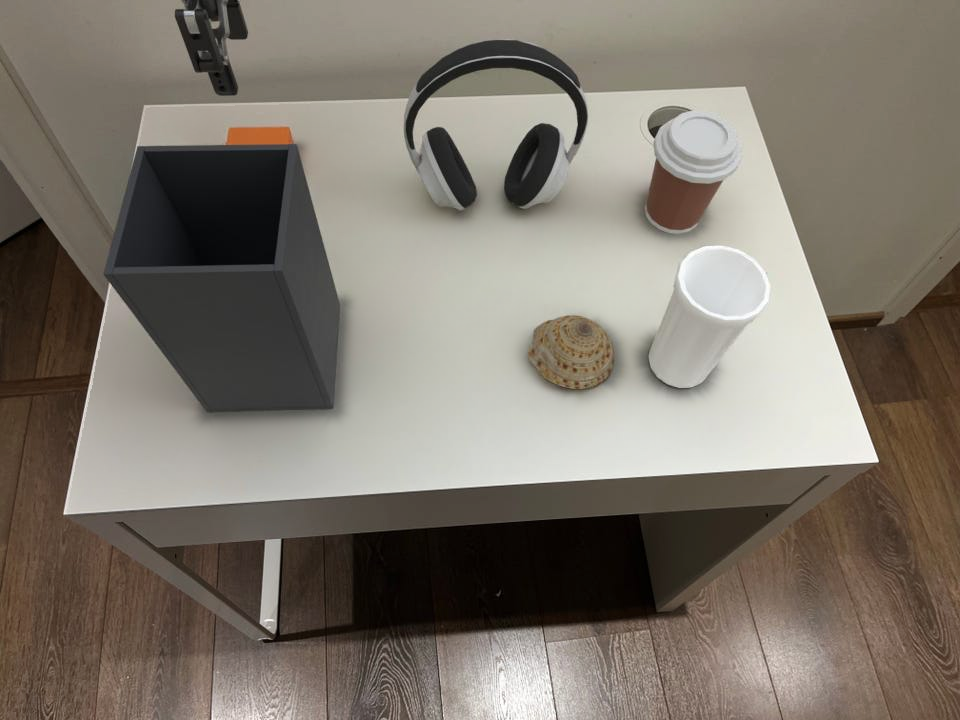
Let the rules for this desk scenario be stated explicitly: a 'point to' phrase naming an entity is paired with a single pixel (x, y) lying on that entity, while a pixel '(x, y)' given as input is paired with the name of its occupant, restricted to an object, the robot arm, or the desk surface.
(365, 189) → the desk surface
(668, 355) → the cup
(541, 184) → the headphones
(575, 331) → the seashell
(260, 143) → the block
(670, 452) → the desk surface
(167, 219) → the wastebasket
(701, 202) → the coffee cup
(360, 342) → the desk surface
